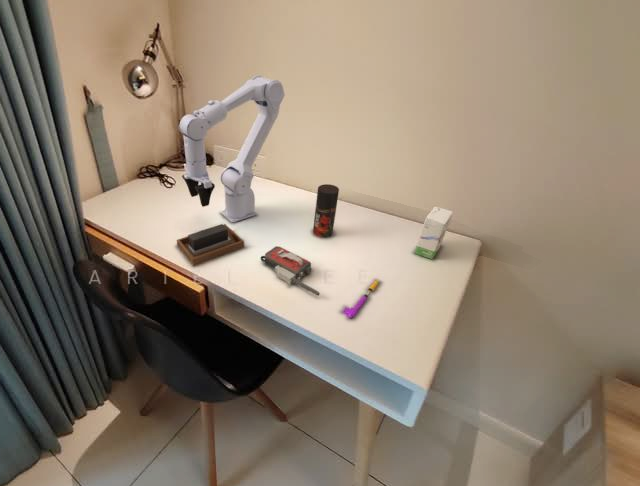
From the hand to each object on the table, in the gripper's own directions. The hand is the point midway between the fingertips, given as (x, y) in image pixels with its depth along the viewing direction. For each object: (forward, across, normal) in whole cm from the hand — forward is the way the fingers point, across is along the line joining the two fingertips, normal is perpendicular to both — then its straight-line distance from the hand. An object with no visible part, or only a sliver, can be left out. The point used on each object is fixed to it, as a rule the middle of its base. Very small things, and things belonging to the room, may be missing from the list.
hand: (199, 200), depth 109 cm
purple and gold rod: (+10, +50, +18) cm, 55 cm away
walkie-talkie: (+10, +35, +10) cm, 37 cm away
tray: (+9, +12, -3) cm, 15 cm away
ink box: (+10, +47, +49) cm, 68 cm away
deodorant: (+10, +24, +30) cm, 39 cm away
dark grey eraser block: (+9, +12, -3) cm, 15 cm away
